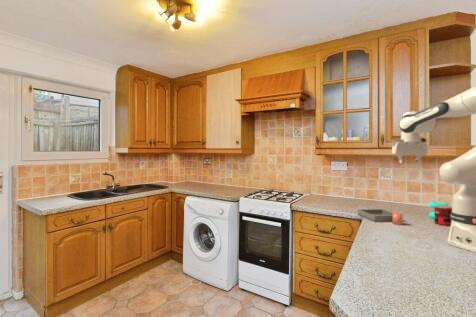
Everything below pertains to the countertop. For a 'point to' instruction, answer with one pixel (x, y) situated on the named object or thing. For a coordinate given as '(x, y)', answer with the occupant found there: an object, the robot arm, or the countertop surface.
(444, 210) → the canned food
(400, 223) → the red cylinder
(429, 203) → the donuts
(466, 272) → the countertop surface
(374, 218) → the grey bin
